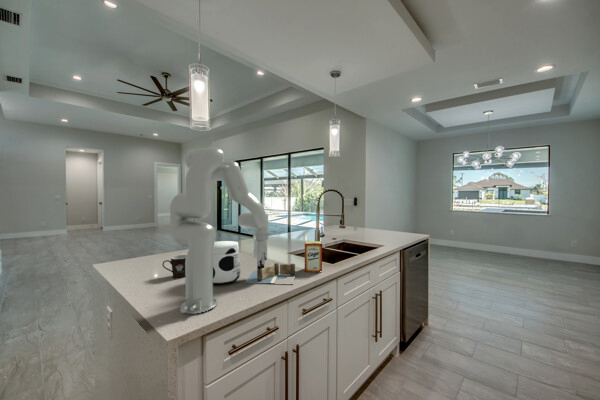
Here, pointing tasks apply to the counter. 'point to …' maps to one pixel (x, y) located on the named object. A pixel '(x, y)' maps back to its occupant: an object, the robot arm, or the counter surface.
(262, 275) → the fence panel
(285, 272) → the fence fixed
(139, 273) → the counter surface
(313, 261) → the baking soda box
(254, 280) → the card
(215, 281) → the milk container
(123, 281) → the counter surface
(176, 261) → the coffee mug
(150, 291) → the counter surface
